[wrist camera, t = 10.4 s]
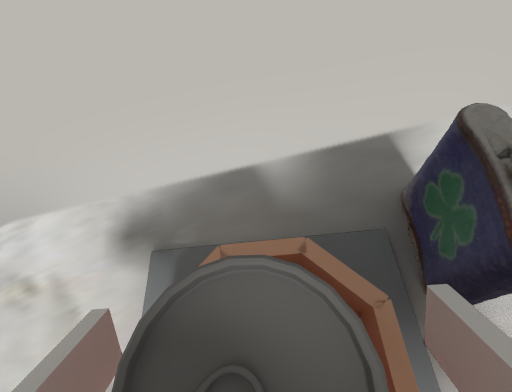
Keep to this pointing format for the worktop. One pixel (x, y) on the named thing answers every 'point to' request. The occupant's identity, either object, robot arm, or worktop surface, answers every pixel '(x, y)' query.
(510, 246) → the flask
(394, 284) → the mat
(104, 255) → the worktop surface
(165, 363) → the beer can
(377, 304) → the dish
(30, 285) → the worktop surface
